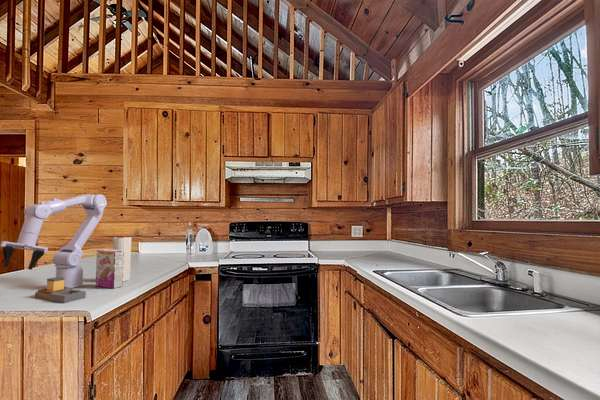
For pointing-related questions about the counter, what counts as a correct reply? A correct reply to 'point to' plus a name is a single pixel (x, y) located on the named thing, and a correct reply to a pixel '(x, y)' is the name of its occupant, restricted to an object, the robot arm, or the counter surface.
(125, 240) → the paper towel roll
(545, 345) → the counter surface
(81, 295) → the lower socket
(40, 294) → the upper socket
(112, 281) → the candy bar box
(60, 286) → the plug
